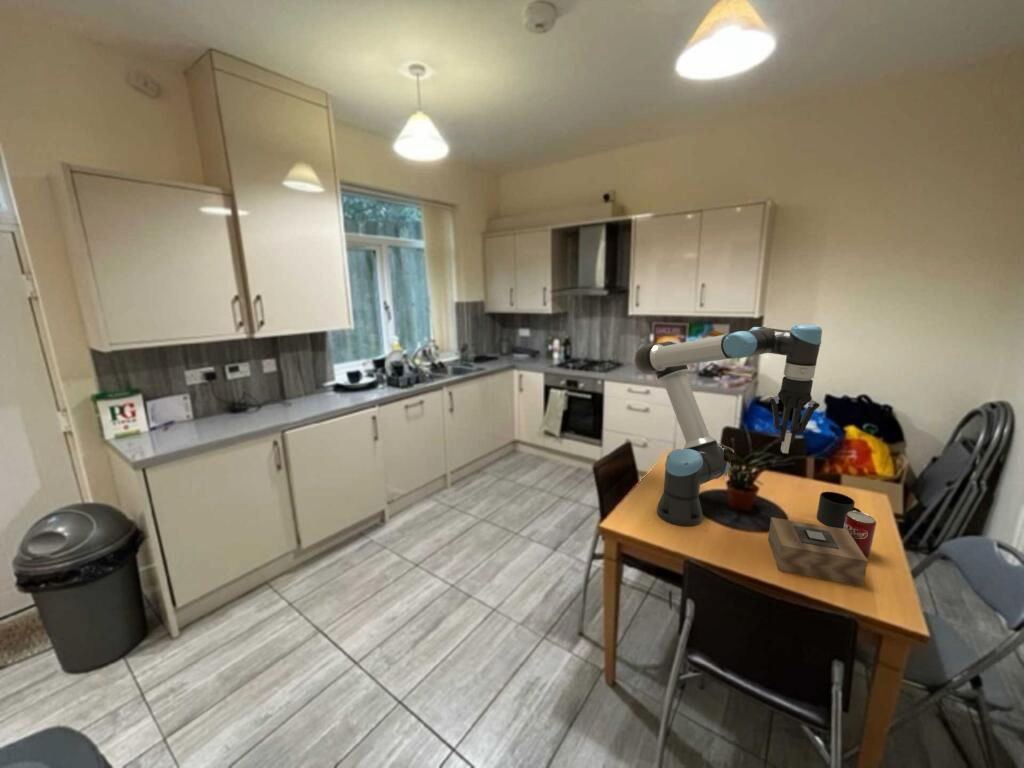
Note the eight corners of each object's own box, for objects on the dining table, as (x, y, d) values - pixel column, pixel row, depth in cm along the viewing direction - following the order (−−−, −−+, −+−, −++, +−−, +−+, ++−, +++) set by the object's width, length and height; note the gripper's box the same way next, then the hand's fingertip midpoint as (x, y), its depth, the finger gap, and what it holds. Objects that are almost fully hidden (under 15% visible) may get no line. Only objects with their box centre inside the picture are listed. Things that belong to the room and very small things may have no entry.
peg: (805, 561, 126) (809, 537, 124) (801, 553, 129) (805, 530, 128) (821, 564, 124) (826, 540, 122) (817, 555, 128) (822, 532, 126)
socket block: (778, 569, 123) (782, 544, 121) (768, 539, 138) (771, 516, 136) (862, 586, 116) (868, 560, 114) (842, 552, 131) (847, 528, 129)
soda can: (857, 561, 127) (864, 525, 124) (833, 546, 134) (840, 512, 131) (875, 556, 129) (883, 521, 126) (850, 543, 135) (857, 509, 133)
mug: (859, 535, 139) (864, 510, 137) (815, 523, 147) (819, 499, 145) (859, 522, 147) (864, 498, 145) (817, 511, 154) (821, 488, 152)
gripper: (775, 378, 124) (762, 452, 131) (828, 382, 120) (812, 459, 126) (770, 372, 131) (758, 443, 137) (820, 376, 127) (806, 450, 133)
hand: (784, 451), depth 132 cm, fingers closed
